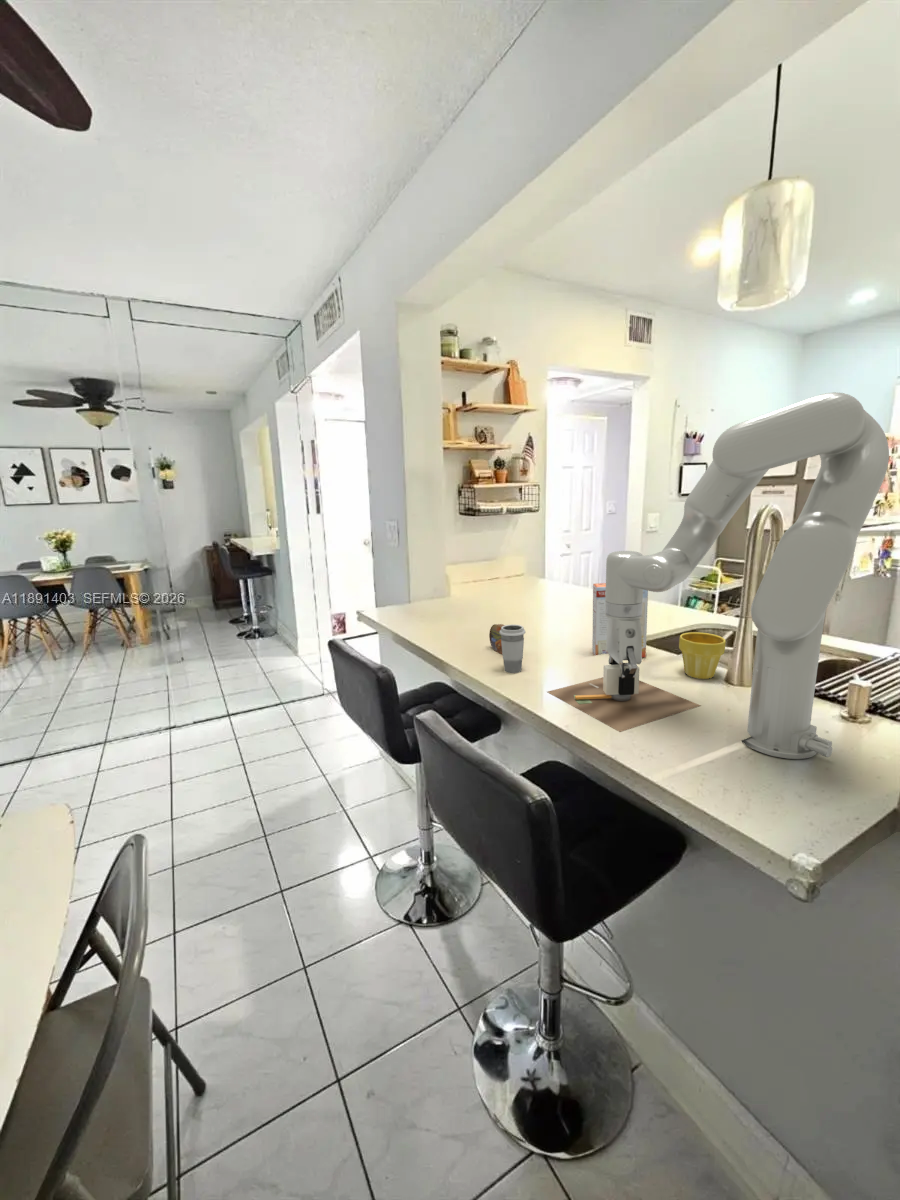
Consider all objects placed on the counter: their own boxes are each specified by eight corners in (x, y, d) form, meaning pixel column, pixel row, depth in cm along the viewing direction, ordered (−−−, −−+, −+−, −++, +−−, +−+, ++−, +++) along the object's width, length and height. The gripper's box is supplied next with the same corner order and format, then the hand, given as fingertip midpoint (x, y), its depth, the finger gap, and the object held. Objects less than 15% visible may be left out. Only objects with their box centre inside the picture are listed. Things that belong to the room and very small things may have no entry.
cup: (510, 676, 131) (510, 632, 128) (494, 669, 136) (493, 627, 134) (531, 670, 135) (530, 627, 132) (514, 663, 140) (514, 622, 138)
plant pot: (724, 671, 129) (727, 634, 126) (720, 685, 120) (723, 646, 118) (681, 665, 134) (683, 629, 132) (673, 677, 126) (676, 640, 124)
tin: (488, 647, 156) (488, 621, 154) (497, 646, 157) (496, 620, 155) (514, 661, 142) (514, 633, 140) (524, 659, 144) (523, 631, 142)
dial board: (700, 712, 107) (701, 705, 106) (619, 739, 97) (619, 731, 96) (620, 678, 127) (620, 672, 126) (546, 697, 117) (546, 691, 117)
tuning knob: (632, 692, 113) (633, 662, 112) (639, 700, 109) (641, 669, 108) (573, 694, 114) (573, 664, 112) (577, 702, 109) (578, 671, 108)
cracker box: (640, 651, 146) (643, 581, 142) (646, 658, 140) (649, 585, 136) (591, 651, 148) (592, 582, 143) (594, 658, 142) (596, 586, 137)
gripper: (657, 618, 99) (652, 703, 102) (627, 599, 115) (624, 673, 119) (618, 620, 99) (615, 704, 102) (594, 601, 116) (593, 674, 119)
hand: (620, 687), depth 111 cm, fingers open, 6 cm apart
